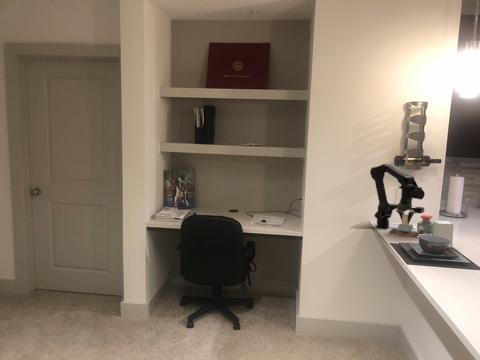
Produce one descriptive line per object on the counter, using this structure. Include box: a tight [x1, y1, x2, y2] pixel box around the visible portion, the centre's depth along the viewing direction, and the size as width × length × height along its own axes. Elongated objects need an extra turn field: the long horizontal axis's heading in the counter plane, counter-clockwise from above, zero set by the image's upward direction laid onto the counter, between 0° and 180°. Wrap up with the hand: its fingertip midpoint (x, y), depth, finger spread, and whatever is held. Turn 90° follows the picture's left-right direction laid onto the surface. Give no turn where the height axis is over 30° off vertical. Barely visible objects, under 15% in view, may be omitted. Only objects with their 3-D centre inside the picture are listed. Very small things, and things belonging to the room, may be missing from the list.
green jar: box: [416, 220, 434, 235], centre depth 223 cm, size 8×7×6 cm
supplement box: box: [433, 220, 454, 247], centre depth 196 cm, size 7×7×13 cm
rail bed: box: [389, 227, 426, 239], centre depth 219 cm, size 18×7×4 cm, turn 46°
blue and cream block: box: [397, 213, 414, 232], centre depth 219 cm, size 6×7×9 cm
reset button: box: [420, 214, 433, 224], centre depth 222 cm, size 5×5×6 cm
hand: (405, 222), depth 219 cm, fingers closed on blue and cream block, 3 cm apart
